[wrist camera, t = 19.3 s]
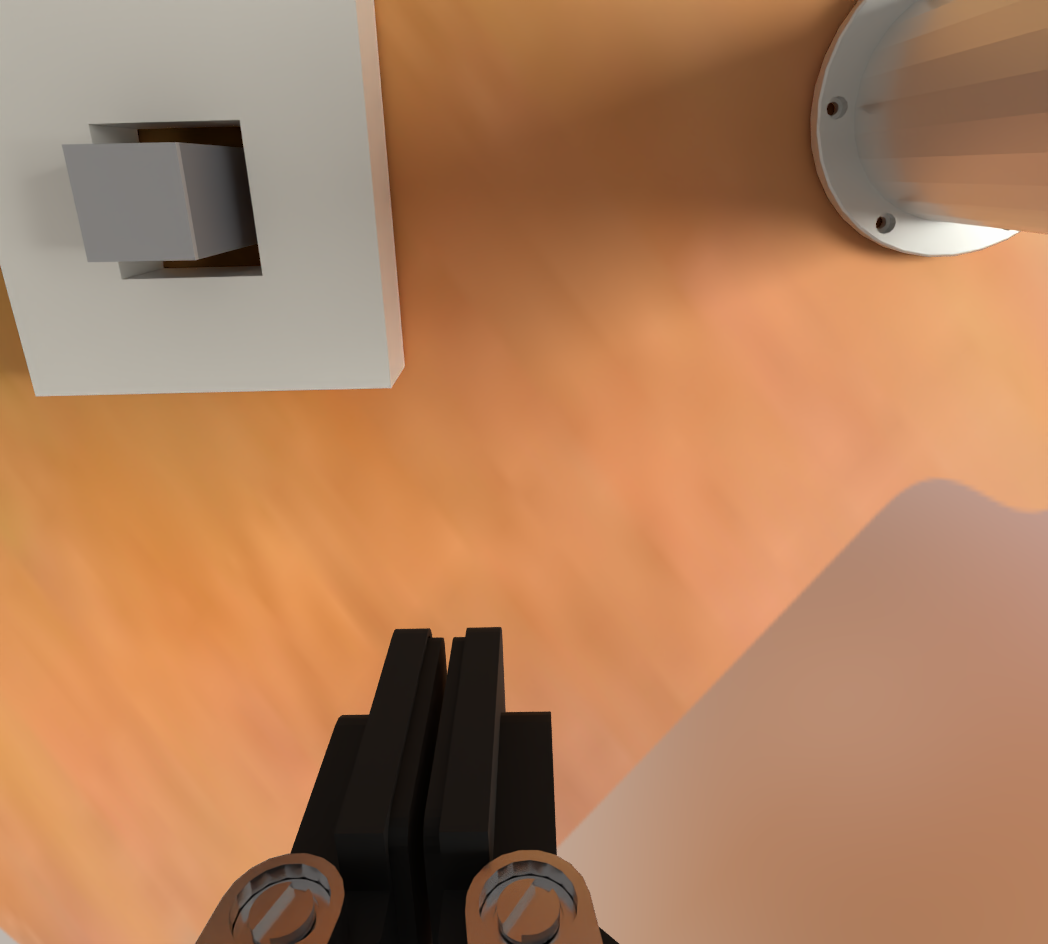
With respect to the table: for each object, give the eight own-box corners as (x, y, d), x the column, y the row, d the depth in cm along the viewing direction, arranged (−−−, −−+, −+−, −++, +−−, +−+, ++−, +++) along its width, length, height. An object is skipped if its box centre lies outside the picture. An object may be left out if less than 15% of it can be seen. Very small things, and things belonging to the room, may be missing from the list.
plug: (252, 148, 34) (175, 142, 27) (265, 241, 36) (195, 260, 28) (163, 150, 34) (61, 144, 27) (180, 243, 36) (87, 262, 28)
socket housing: (372, -10, 32) (352, -34, 28) (404, 366, 38) (391, 388, 34) (-7, 2, 32) (-77, -21, 28) (84, 374, 38) (35, 396, 34)
